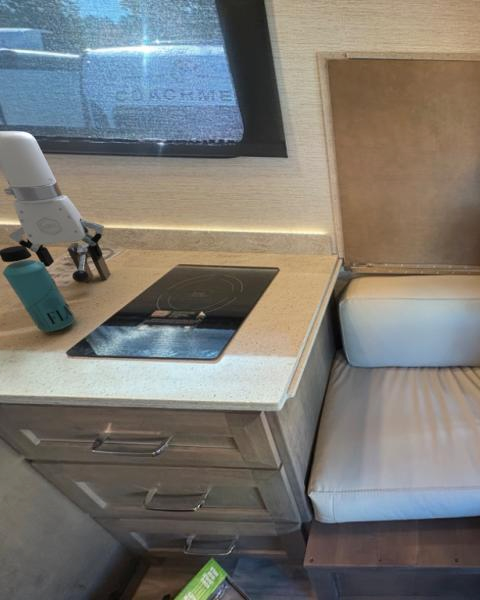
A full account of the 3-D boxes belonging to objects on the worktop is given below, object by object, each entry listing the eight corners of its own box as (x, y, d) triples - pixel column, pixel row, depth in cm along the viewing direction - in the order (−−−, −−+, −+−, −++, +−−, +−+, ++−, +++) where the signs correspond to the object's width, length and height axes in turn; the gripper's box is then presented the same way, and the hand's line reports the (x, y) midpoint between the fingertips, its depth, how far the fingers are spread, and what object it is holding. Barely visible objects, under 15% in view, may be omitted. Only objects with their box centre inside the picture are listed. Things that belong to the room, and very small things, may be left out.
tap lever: (91, 283, 87) (84, 276, 84) (75, 285, 85) (68, 278, 83) (95, 250, 92) (89, 242, 90) (81, 252, 91) (74, 243, 89)
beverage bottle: (57, 339, 73) (6, 256, 63) (32, 335, 74) (-22, 252, 64) (86, 323, 79) (43, 244, 69) (62, 319, 80) (16, 241, 69)
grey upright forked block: (118, 286, 94) (101, 247, 88) (73, 291, 90) (52, 252, 84) (124, 275, 100) (108, 238, 94) (82, 280, 96) (62, 242, 90)
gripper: (-24, 199, 69) (22, 273, 77) (81, 193, 75) (112, 262, 84) (-5, 191, 74) (36, 260, 83) (91, 186, 81) (120, 251, 90)
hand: (74, 261), depth 83 cm, fingers open, 9 cm apart
